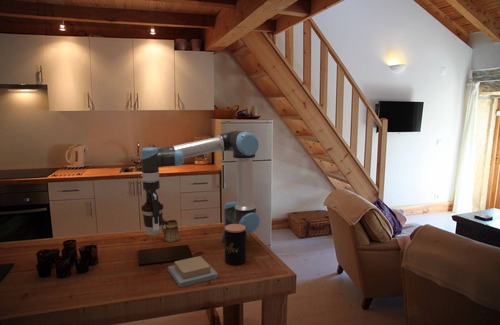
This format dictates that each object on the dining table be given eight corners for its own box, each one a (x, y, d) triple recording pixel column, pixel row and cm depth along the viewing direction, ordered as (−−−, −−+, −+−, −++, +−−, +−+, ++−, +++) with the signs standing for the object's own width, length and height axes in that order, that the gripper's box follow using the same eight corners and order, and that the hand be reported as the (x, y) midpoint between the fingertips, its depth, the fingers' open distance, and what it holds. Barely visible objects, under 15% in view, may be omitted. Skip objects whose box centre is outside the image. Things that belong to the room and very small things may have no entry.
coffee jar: (220, 261, 177) (220, 227, 174) (235, 254, 184) (235, 222, 182) (235, 267, 170) (235, 232, 167) (250, 260, 177) (250, 227, 174)
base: (203, 262, 175) (203, 253, 174) (217, 277, 159) (217, 267, 159) (168, 270, 166) (167, 260, 165) (179, 287, 151) (179, 276, 150)
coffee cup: (158, 237, 161) (157, 206, 158) (139, 235, 163) (137, 205, 160) (168, 229, 170) (166, 200, 168) (149, 228, 172) (147, 199, 170)
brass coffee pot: (156, 237, 207) (155, 208, 204) (179, 236, 210) (179, 207, 207) (156, 243, 199) (154, 213, 196) (180, 241, 202) (179, 211, 199)
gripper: (137, 177, 170) (140, 221, 173) (148, 186, 151) (151, 235, 155) (153, 175, 173) (155, 219, 177) (165, 184, 155) (167, 232, 158)
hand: (153, 226), depth 166 cm, fingers closed on coffee cup, 9 cm apart
